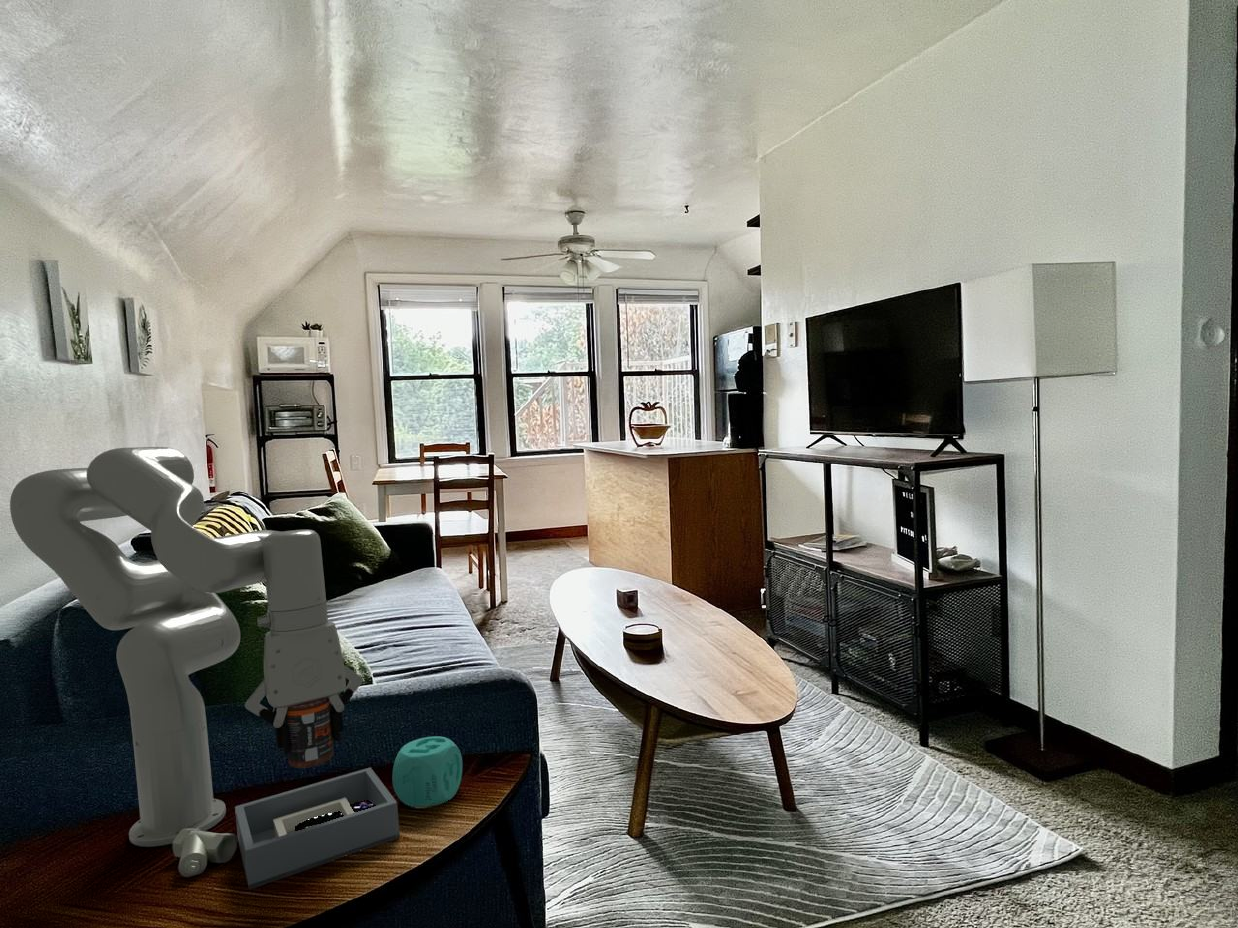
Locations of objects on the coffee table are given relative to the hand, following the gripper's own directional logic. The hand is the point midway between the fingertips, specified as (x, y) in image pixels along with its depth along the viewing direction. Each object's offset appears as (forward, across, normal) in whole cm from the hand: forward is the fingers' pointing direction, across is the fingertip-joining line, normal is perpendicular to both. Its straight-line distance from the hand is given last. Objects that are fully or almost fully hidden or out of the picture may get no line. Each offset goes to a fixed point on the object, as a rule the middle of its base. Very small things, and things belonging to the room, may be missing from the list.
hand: (311, 743), depth 104 cm
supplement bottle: (+3, 0, 0) cm, 3 cm away
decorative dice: (+14, +17, +2) cm, 22 cm away
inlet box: (+14, 0, 0) cm, 14 cm away
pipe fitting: (+14, -15, +5) cm, 21 cm away
